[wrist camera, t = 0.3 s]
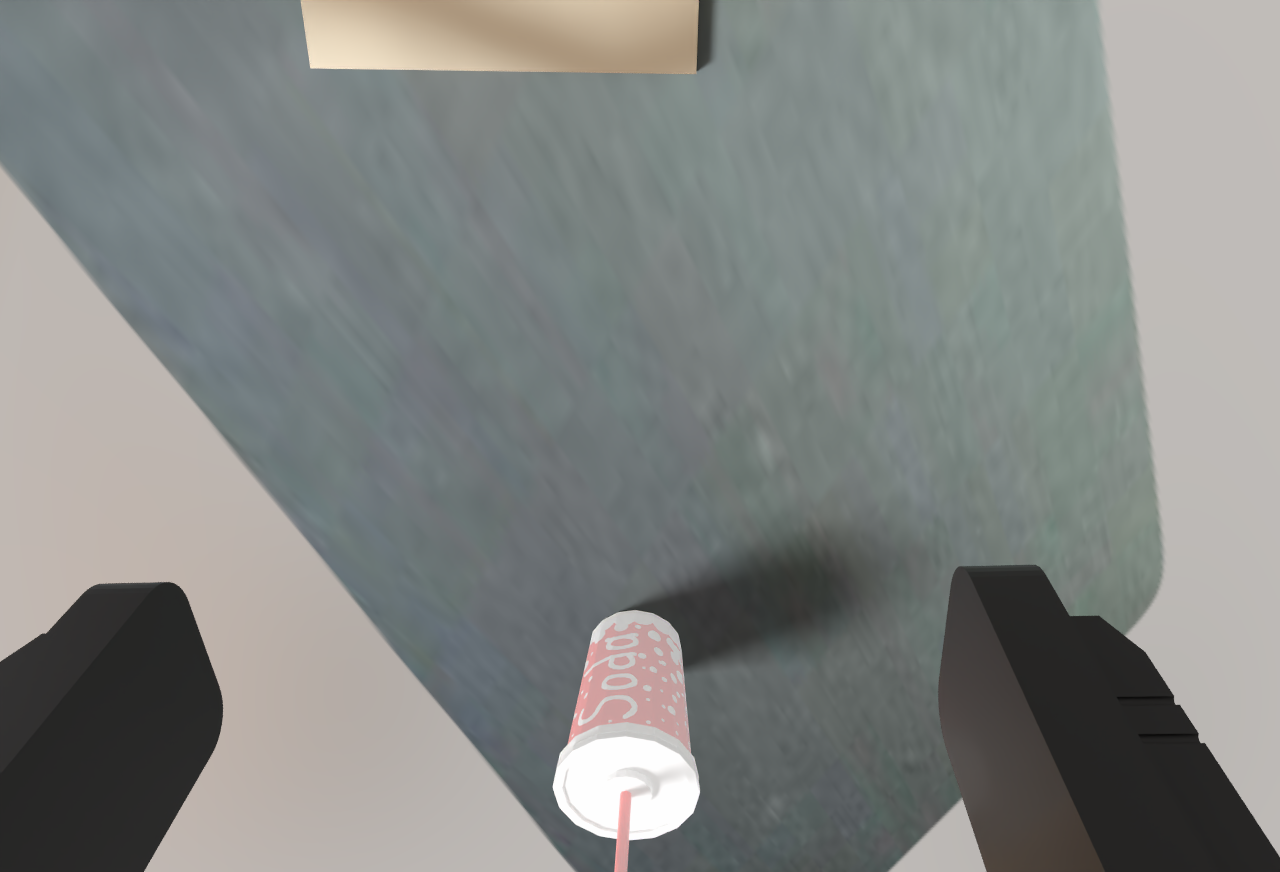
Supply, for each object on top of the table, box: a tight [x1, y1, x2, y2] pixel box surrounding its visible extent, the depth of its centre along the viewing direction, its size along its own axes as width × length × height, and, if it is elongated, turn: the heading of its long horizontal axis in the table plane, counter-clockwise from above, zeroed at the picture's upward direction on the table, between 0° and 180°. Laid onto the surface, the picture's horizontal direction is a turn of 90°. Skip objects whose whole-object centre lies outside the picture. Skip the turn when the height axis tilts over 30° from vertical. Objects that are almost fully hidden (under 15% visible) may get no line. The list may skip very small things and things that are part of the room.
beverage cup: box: [553, 610, 700, 872], centre depth 40 cm, size 6×6×14 cm
